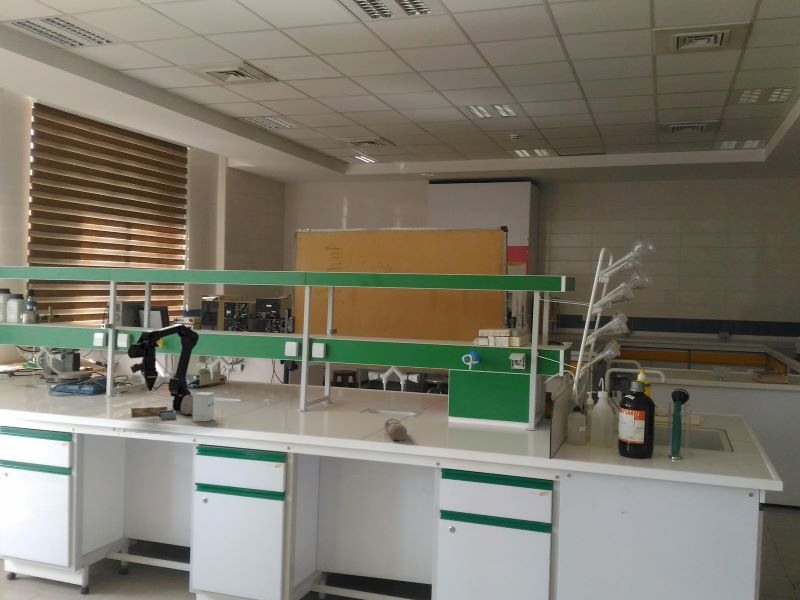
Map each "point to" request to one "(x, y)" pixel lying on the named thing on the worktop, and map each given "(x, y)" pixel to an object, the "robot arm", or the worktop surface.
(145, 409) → the walnut rail
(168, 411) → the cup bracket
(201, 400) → the supplement box
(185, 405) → the pumice stone
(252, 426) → the worktop surface
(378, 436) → the worktop surface
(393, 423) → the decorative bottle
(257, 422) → the worktop surface
